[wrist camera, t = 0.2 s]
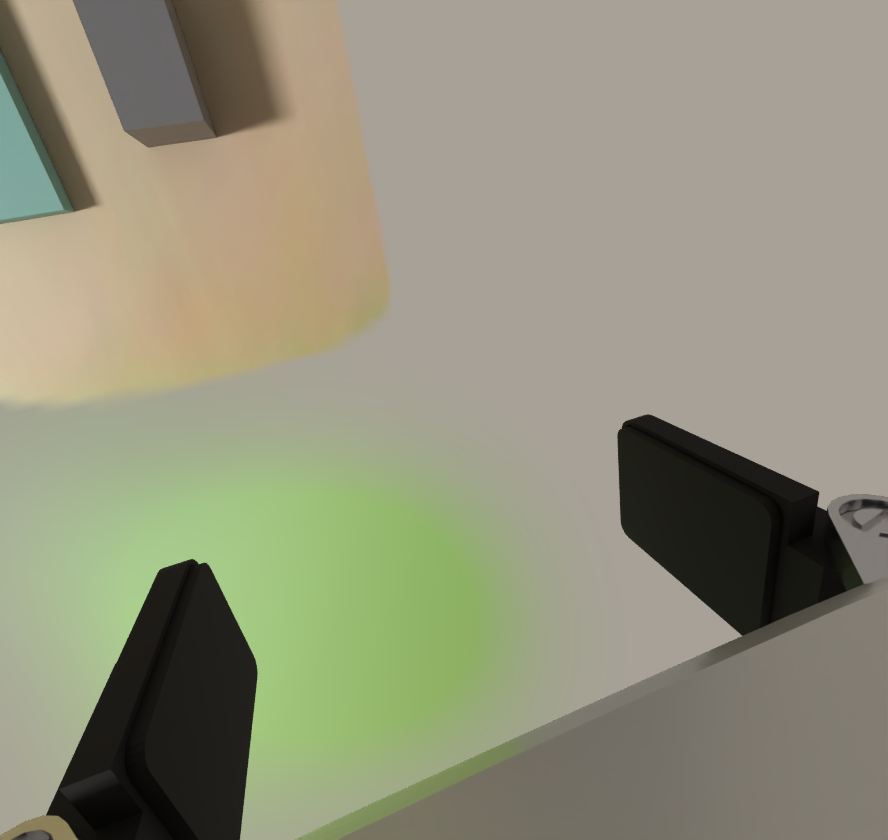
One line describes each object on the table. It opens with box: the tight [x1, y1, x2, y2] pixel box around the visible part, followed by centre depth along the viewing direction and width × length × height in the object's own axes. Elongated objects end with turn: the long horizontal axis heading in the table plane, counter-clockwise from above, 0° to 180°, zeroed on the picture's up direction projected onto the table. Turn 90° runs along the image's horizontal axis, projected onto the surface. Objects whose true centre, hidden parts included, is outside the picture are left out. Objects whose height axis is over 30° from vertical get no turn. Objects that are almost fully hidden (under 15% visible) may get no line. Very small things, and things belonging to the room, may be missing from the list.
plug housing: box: [73, 0, 217, 147], centre depth 27 cm, size 4×8×4 cm, turn 11°
